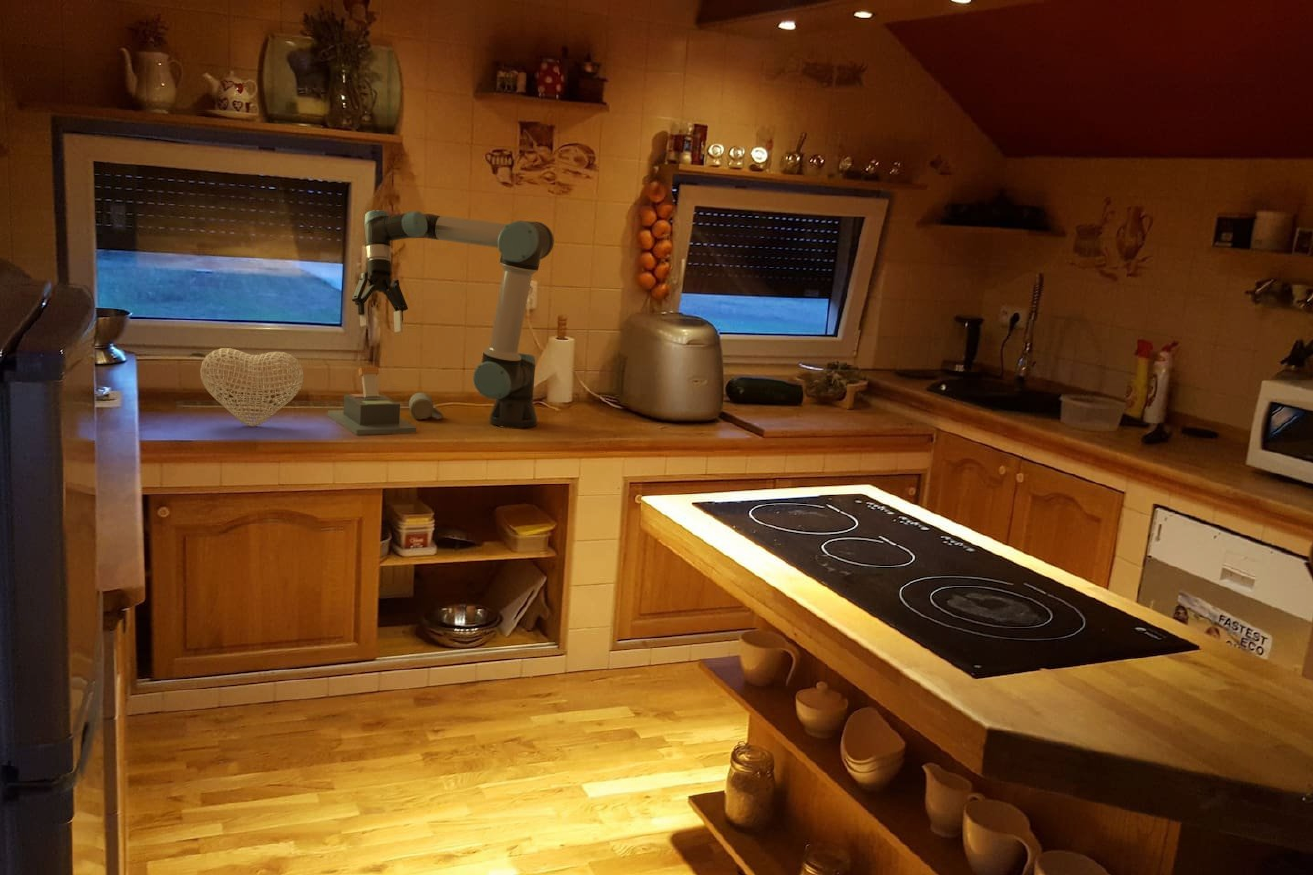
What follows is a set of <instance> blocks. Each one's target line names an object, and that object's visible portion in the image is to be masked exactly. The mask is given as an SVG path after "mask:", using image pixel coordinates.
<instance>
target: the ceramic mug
mask: <svg viewBox="0 0 1313 875" xmlns="http://www.w3.org/2000/svg"><path fill="white" fill-rule="evenodd" d="M408 407H409V411H410V414H411V416H412V417H413V418H415V419H416V420H418V419H425V420H427V419H429V418H430V417H432V418H434V419H436V420H439V419H441V418H442V419H443V417H444V414H443V413H442V412H440V411H439V410H438V409H436V408H434V401H433V399H432V397H431V396H430V395H429V394H427V393H426V392H417V393H415V394H412V396H411V397H410V398H409V401H408ZM442 419H441V420H442Z"/></svg>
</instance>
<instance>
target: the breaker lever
mask: <svg viewBox="0 0 1313 875" xmlns="http://www.w3.org/2000/svg"><path fill="white" fill-rule="evenodd" d="M379 374H380V372H379V366H361V367H360V368H358V376H359V377H361V383H362V394H364V398H377V397H378V396H379V384H378V377H377V376H378V375H379Z"/></svg>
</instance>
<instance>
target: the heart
mask: <svg viewBox="0 0 1313 875" xmlns="http://www.w3.org/2000/svg"><path fill="white" fill-rule="evenodd" d="M231 357H232V358H231ZM236 358H237V359H236ZM218 359H220V360H219V361H217V360H218ZM280 360H281V361H280ZM246 361H247V362H246ZM264 363H265V364H264ZM269 363H270V364H269ZM217 364H218V365H217ZM259 364H260V365H259ZM200 365H201V366H200V369H199V372H200V373H199V374H200V379H201V382H202V384H203V386H204V388H205V389H206V391H207V392H208V394H210V395H211V396H212V397H213V398H214V399H215V400H216V402H218V403H219V404H220V405H222V406H223V407H224V408H225V409H226V410H227V411H228V412H230V413H231V415H232V416H234V417H235V419H237V420H238V421H240V422H241V423H242V424H244V425H246V426H247V427H252V428H253V427H258V426H259V425H262V424H263V423H264V422H265V421H267V420H268V419H269V418H271V417H272V416H274V414H276V413H278V411H279V410H281V409H282V408H283V407H285V406H286V405H287V404H288V403H289V402H291V401H292V400H293V399H294V397H296V396H297V394H298V392H299V391H300V390H301V387H302V385H303V382H304V372H303V371H304V370H303V367H302V365H301V363H300V361H299V360H298V359H297V358H296V357H294V356H293V354H290V353H287V352H285V351H284V352H283V351H270V352H264V353H260V354H249V353H247V352H244V351H242V350H238V349H234V348H232V347H231V348H230V347H228V348H227V347H221V348H219V349H214V350H212V351H211V352H210V353H208V354H207V355H206V356H205V357H204V358H203V360H202V361H201V364H200ZM246 365H247V366H246ZM283 366H284V367H283ZM269 367H270V369H269ZM274 367H275V368H274ZM219 370H220V371H219ZM230 372H231V373H230ZM235 373H236V374H235ZM217 376H218V378H216V377H217ZM289 376H290V377H291V378H290V377H289ZM244 377H245V378H244ZM285 377H286V379H285ZM228 379H229V380H228ZM272 379H273V381H272ZM233 380H234V382H233ZM238 381H240V383H239V382H238ZM243 382H245V383H243ZM226 383H228V385H227V384H226ZM248 383H250V384H248ZM280 383H281V384H280ZM285 383H286V384H285ZM231 385H233V387H231ZM236 386H238V388H236ZM259 386H260V387H259ZM273 386H274V387H273ZM220 388H221V389H220ZM242 388H244V389H242ZM248 388H249V389H248ZM227 389H228V391H227ZM276 390H277V391H276ZM265 391H266V392H265ZM271 391H272V392H271ZM242 393H243V394H242ZM285 393H286V394H285ZM230 395H231V396H232V397H230ZM277 395H278V396H277ZM273 396H274V397H273ZM270 401H272V403H270ZM274 404H276V405H274ZM237 405H238V406H237ZM252 410H253V411H252ZM256 410H258V411H256Z"/></svg>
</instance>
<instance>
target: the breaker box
mask: <svg viewBox="0 0 1313 875" xmlns="http://www.w3.org/2000/svg"><path fill="white" fill-rule="evenodd" d="M400 412H401V403H399V402H397V401H395V400H393V399H391V398H390V397H387V396H386V395H384V394H383V393H382V394H381V393H380V394H379V396H378V397H377V398H364V394H363V393H351V394H343V409H339V410H338V409H337V410H334V409H333V410H327V416H328V417H330V418H331V419H333V420H334V421H336V423H338V424H340V425H341V426H342V427H344V428H345V429H347V430H348V431H349V432H352V433H353V434H354V435H355V436H361V435H362V436H363V435H366V434H367V435H368V434H369V435H384V434H385V435H387V434H390V433H393V434H411V433H413V432H416V433H417V427H416V426H414V425H412V424H411V423H409V422H407V421H406V420H404V419H402V418H400V417H401V416H400V415H401V413H400ZM413 434H414V433H413Z"/></svg>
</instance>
